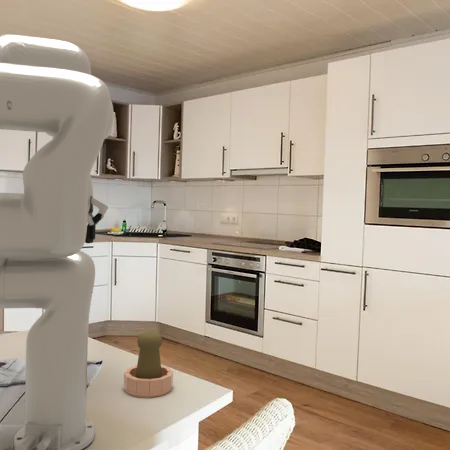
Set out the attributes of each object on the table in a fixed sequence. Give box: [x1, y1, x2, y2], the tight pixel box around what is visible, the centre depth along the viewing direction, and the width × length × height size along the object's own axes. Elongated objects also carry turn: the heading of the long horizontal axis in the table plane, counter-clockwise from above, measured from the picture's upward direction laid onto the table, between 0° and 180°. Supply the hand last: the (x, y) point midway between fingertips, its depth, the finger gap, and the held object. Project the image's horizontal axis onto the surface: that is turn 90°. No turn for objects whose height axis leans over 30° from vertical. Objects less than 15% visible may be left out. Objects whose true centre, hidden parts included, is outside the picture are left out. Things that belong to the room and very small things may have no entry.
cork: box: [135, 331, 163, 379], centre depth 101 cm, size 6×6×11 cm
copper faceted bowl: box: [123, 364, 174, 399], centre depth 102 cm, size 10×10×4 cm
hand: (68, 242), depth 106 cm, fingers open, 9 cm apart
